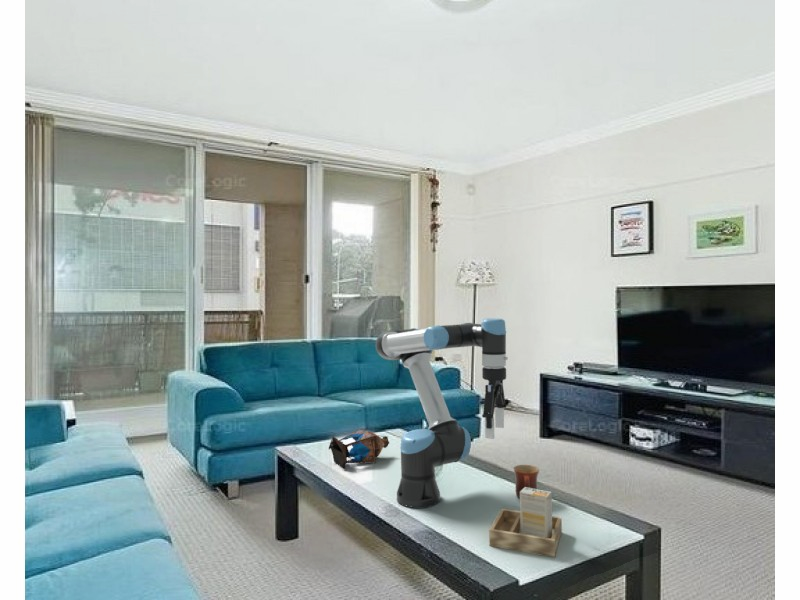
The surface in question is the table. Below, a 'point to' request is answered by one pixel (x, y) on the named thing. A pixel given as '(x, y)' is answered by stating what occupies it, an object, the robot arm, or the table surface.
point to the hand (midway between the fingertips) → (494, 432)
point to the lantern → (358, 448)
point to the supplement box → (536, 512)
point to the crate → (522, 535)
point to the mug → (525, 477)
